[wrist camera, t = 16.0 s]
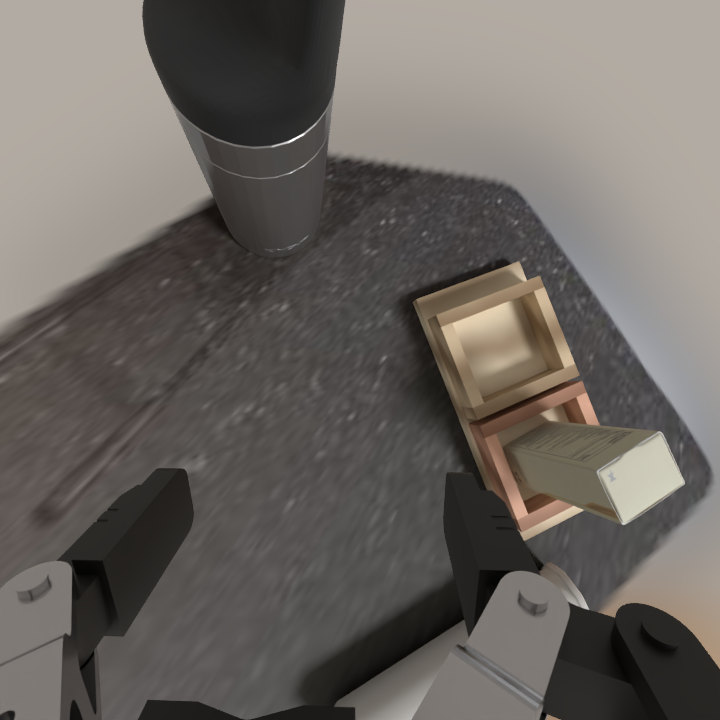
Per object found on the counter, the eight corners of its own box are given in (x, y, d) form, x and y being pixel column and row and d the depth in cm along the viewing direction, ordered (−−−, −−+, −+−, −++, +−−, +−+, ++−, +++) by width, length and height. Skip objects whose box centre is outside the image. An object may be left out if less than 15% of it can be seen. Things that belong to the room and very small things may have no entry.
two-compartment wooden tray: (412, 302, 39) (424, 293, 35) (512, 265, 41) (533, 252, 37) (507, 541, 39) (528, 557, 35) (603, 492, 41) (633, 502, 37)
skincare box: (519, 486, 38) (620, 531, 26) (499, 446, 38) (592, 472, 26) (570, 456, 39) (690, 485, 27) (552, 417, 39) (664, 429, 27)
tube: (347, 763, 34) (571, 611, 38) (343, 805, 29) (602, 626, 33) (321, 696, 36) (538, 558, 40) (313, 724, 31) (562, 564, 35)
